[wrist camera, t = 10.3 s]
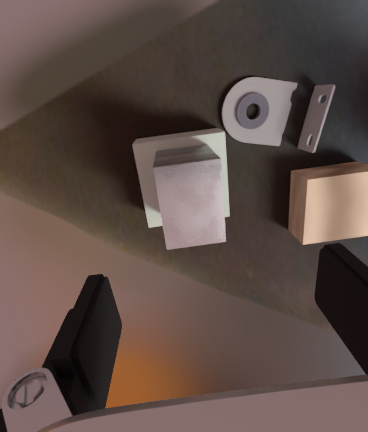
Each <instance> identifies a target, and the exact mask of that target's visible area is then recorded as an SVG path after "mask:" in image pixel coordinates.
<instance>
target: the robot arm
mask: <svg viewBox="0 0 368 432" xmlns="http://www.w3.org/2000/svg"><path fill="white" fill-rule="evenodd" d="M315 301H316V304H317V305H318V307H319V308H320V310H321V311H322V312H323V314H324V315H325V317H326V318H327V320H328V321H329V322H330V324H331V325H332V327H333V328H334V330H335V331H336V332H337V334H338V335H339V337H340V338H341V339H342V341H343V342H344V344H345V345H346V347H347V348H348V349H349V351H350V352H351V354H352V355H353V356H354V358H355V359H356V361H357V362H358V364H359V365H360V366H361V368H362V369H363V371H364V372H365V373H366V375H360V376H351V377H343V378H335V379H326V380H317V381H309V382H301V383H293V384H285V385H277V386H269V387H261V388H253V389H245V390H237V391H229V392H222V393H213V394H206V395H198V396H191V397H183V398H176V399H168V400H160V401H154V402H146V403H139V404H132V405H126V406H119V407H113V408H106V409H105V406H106V401H107V396H108V392H109V387H110V383H111V377H112V373H113V368H114V363H115V359H116V354H117V349H118V344H119V339H120V335H121V329H122V323H121V319H120V315H119V312H118V309H117V306H116V302H115V299H114V296H113V292H112V289H111V286H110V283H109V279H108V277H104V276H103V274H97V275H90V276H88V277H87V280H86V282H85V284H84V286H83V288H82V291H81V293H80V295H79V297H78V299H77V301H76V303H75V306H74V308H73V309H70V310H69V312H68V313H67V315H66V317H65V319H64V321H63V324H62V326H61V328H60V330H59V332H58V334H57V336H56V338H55V341H54V343H53V345H52V347H51V349H50V351H49V353H48V355H47V357H46V359H45V361H44V364H43V366H42V368H35V369H32V370H29V371H27V372H26V373H24V374H22V375H21V376H20V377H18V378H17V379H16V380H15V381H14V382H13V383H12V384H11V385H10V386H9V388H8V389H7V391H6V392H5V394H4V396H3V399H2V408H1V409H0V432H368V267H367V266H366V265H365V264H364V263H363V262H361V261H360V260H359V259H358V258H357V257H356V256H355V255H353V254H352V253H351V252H350V251H349V250H348V249H346V248H345V247H344V246H343V245H342V244H340V243H335V244H328V245H324V247H323V249H321V250H320V254H319V262H318V271H317V279H316V288H315Z"/></svg>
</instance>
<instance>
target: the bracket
mask: <svg viewBox="0 0 368 432" xmlns="http://www.w3.org/2000/svg"><path fill="white" fill-rule="evenodd" d="M297 84H298V83H294V82H287V81H281V80H274V79H268V78H261V77H250V78H246V79H243V80H241V81H239V82H238V83H236V84H235V85H234V86H233V87H232V88H231V89H230V91H229V92H228V94H227V95H226V97H225V100H224V102H223V106H222V121H223V124H224V127H225V129H226V131H227V132H228V134H229V135H230V136H231V137H233V138H234V139H236V140H238V141H241V142H245V143H254V144H264V145H273V146H280V143H281V139H282V134H283V132H284V129H285V125H286V122H287V119H288V115H289V112H290V108H291V105H292V103H291V102H290V98H291V95H292V92H293V90H295V89H296V87H297ZM334 90H335V85H332V84H330V85H315V88H314V91H313V94H312V97H311V101H310V104H309V108H308V111H307V115H306V118H305V122H304V125H303V129H302V133H301V136H300V140H299V144H298V147H297V148H298V149H301V150H304V151H307V152H310V153H314V152H315V150H316V147H317V144H318V141H319V138H320V135H321V131H322V128H323V125H324V122H325V119H326V115H327V112H328V109H329V106H330V103H331V99H332V96H333V93H334ZM323 95H326V96H327V98H326V101H325V102H324V103H320V99H321V97H322V96H323ZM252 103H254V104H256V105H257V107H258V114H257V116H256V117H255V118H253V119H249V118H248V117H247V116H246V109H247V107H248V106H249V105H250V104H252ZM311 135H313V139H312V142H311V145H310V146H309V140H310V137H311Z"/></svg>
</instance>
